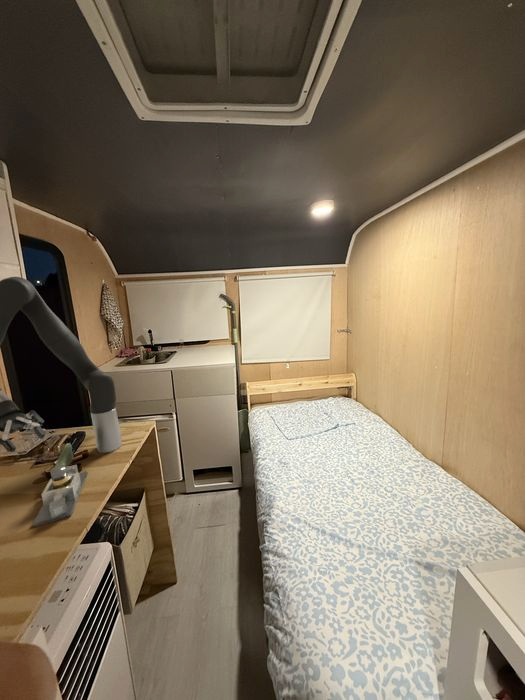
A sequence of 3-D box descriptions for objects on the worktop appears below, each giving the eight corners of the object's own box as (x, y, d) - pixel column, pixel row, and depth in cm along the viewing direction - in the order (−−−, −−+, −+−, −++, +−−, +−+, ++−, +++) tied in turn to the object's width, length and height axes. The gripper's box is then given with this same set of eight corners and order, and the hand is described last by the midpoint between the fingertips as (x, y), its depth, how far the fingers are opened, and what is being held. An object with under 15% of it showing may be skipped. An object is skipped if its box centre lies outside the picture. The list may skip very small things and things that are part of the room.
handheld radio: (52, 489, 94) (68, 453, 116) (64, 487, 95) (77, 451, 118) (49, 472, 93) (66, 439, 115) (61, 469, 94) (75, 437, 117)
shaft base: (58, 480, 98) (55, 467, 97) (87, 473, 101) (85, 461, 100) (33, 527, 78) (29, 511, 77) (70, 516, 81) (67, 501, 80)
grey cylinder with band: (61, 490, 91) (56, 465, 90) (73, 489, 92) (68, 464, 90) (52, 498, 88) (47, 473, 86) (65, 498, 88) (60, 472, 86)
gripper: (-27, 408, 84) (6, 448, 82) (26, 392, 97) (55, 426, 96) (-33, 423, 87) (-1, 462, 85) (19, 406, 100) (48, 439, 98)
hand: (29, 443), depth 90 cm, fingers open, 8 cm apart
